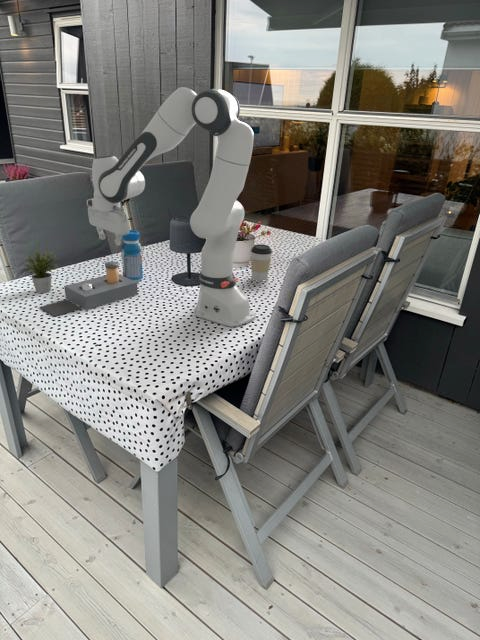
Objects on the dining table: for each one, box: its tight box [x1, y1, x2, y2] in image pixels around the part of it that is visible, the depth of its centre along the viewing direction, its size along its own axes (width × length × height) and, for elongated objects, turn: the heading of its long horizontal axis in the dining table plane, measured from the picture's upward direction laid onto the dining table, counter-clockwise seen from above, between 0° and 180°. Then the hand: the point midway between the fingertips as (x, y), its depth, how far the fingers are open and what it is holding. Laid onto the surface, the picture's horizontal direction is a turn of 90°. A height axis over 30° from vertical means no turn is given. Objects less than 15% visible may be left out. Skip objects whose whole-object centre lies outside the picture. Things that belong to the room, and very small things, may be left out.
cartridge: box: [104, 261, 119, 284], centre depth 170 cm, size 5×5×12 cm
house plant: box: [22, 248, 61, 294], centre depth 167 cm, size 14×14×16 cm
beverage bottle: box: [120, 229, 144, 283], centre depth 184 cm, size 8×8×20 cm
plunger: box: [82, 283, 92, 291], centre depth 164 cm, size 4×4×6 cm
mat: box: [39, 299, 82, 318], centre depth 157 cm, size 10×10×1 cm
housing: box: [64, 273, 139, 311], centre depth 168 cm, size 22×14×5 cm, turn 139°
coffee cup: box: [250, 244, 273, 282], centre depth 193 cm, size 9×9×15 cm
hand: (109, 242), depth 164 cm, fingers open, 8 cm apart
